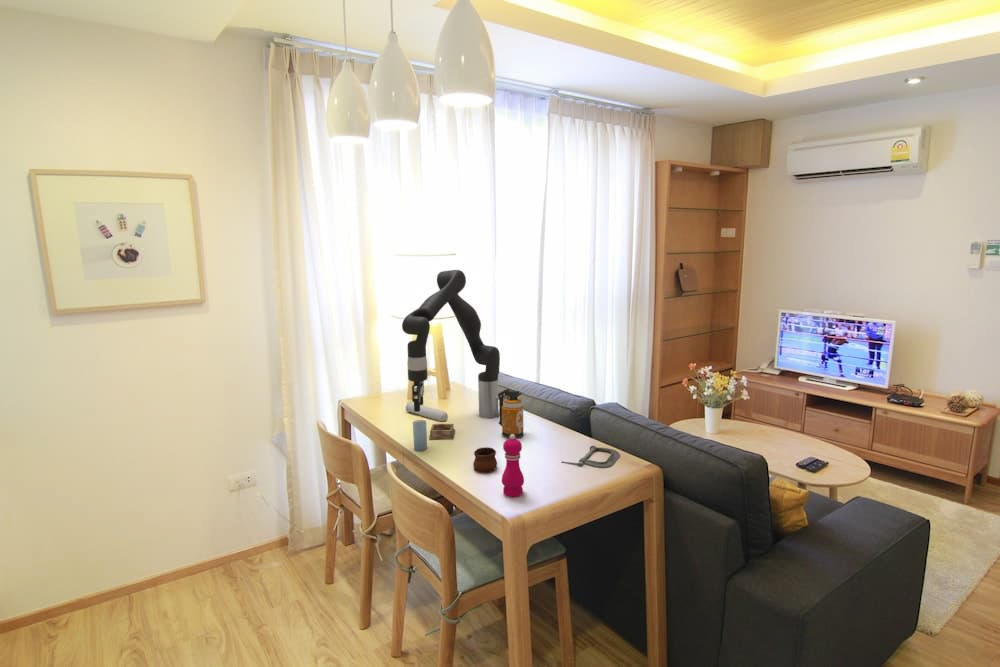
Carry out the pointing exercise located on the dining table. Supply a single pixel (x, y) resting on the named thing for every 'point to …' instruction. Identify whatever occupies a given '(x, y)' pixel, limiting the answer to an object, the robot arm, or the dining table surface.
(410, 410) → the tube
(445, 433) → the holder
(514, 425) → the canister
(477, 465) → the ceramic pot
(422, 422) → the roll
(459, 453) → the dining table surface
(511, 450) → the pepper mill
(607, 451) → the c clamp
